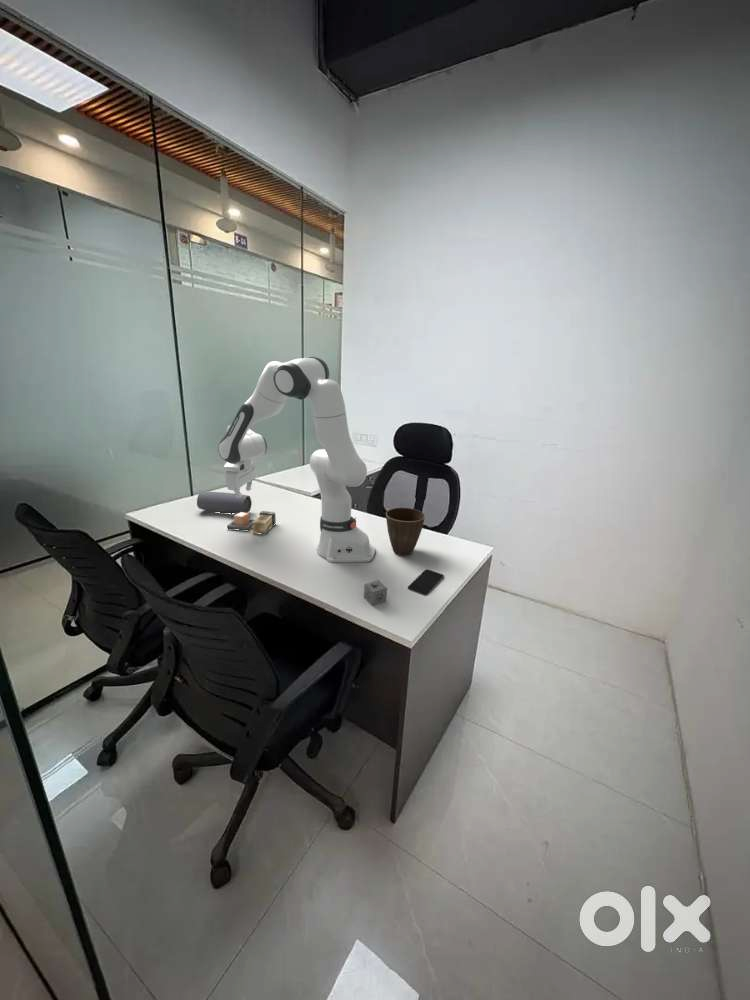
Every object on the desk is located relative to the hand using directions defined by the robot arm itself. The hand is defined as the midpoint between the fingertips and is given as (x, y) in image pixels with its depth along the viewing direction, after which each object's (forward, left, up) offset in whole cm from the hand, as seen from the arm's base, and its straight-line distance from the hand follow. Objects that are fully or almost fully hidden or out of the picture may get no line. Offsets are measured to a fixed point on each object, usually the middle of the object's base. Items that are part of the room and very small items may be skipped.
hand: (244, 493), depth 156 cm
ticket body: (-9, +2, -15) cm, 17 cm away
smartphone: (-77, +36, -15) cm, 86 cm away
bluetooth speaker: (+15, -12, -15) cm, 24 cm away
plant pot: (-69, +14, -15) cm, 72 cm away
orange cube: (+1, +2, -14) cm, 14 cm away
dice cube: (-61, +48, -15) cm, 79 cm away
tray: (+1, +2, -15) cm, 15 cm away
